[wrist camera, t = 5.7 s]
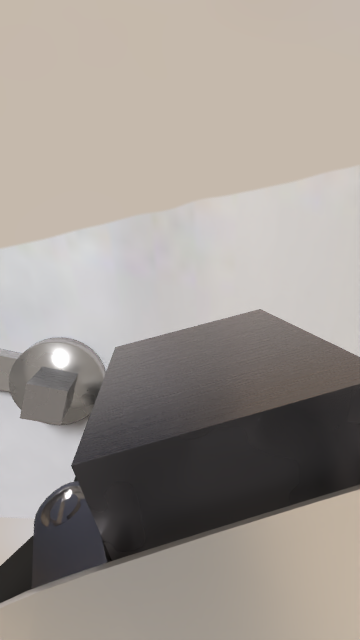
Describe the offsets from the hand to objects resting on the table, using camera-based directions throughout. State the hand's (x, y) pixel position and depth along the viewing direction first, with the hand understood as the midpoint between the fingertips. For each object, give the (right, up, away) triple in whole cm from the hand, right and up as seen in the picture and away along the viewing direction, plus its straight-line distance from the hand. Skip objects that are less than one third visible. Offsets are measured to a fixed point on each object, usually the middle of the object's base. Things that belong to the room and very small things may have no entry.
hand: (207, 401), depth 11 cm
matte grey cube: (0, 0, +1) cm, 1 cm away
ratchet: (-20, -1, +16) cm, 25 cm away
